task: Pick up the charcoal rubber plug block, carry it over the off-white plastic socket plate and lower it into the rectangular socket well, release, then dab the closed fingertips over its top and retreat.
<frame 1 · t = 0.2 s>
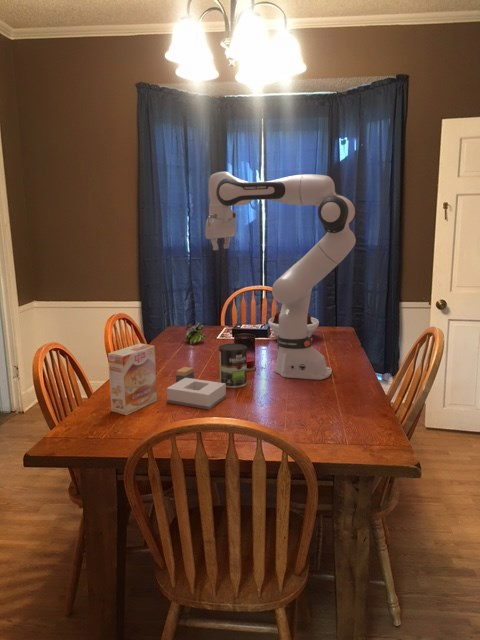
hand: (221, 249, 205), 48 cm above the table, fingers open, 8 cm apart
coffee can: (233, 384, 188), on the table
socket: (196, 399, 172), on the table
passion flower: (196, 342, 249), on the table
white round bowl: (293, 339, 253), on the table
coffeecake box: (135, 406, 168), on the table
plug: (185, 387, 184), on the table
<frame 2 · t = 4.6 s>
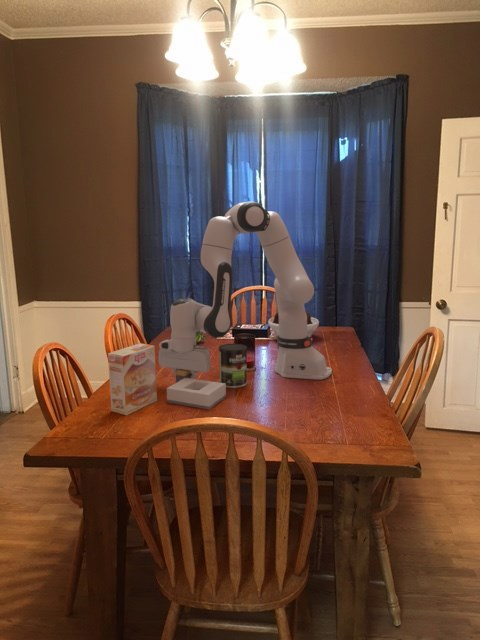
hand: (185, 380, 184), 3 cm above the table, fingers closed on plug, 4 cm apart
plug: (185, 387, 184), on the table, touching gripper
everything else where it was.
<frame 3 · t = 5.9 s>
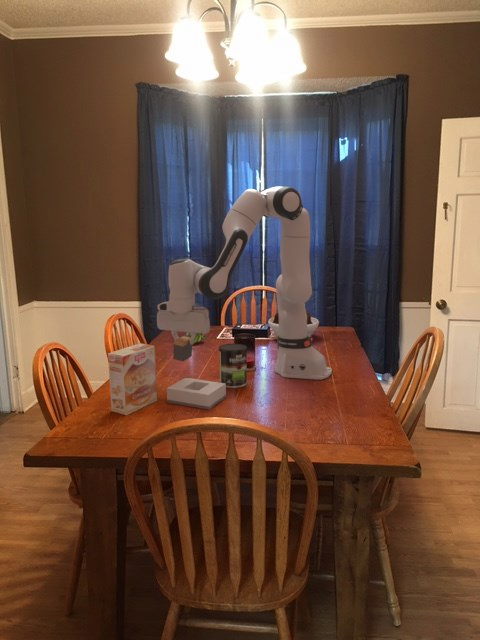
hand: (184, 343, 181), 17 cm above the table, fingers closed on plug, 4 cm apart
plug: (182, 357, 182), point 11 cm above the table, tilted 8°, touching gripper
everything else where it was.
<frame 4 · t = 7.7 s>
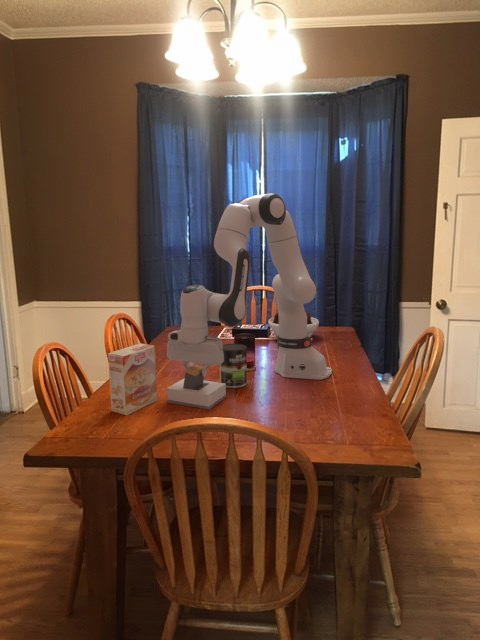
hand: (195, 374, 170), 9 cm above the table, fingers closed on plug, 4 cm apart
plug: (192, 387, 171), point 5 cm above the table, tilted 12°, touching gripper, socket
everything else where it was.
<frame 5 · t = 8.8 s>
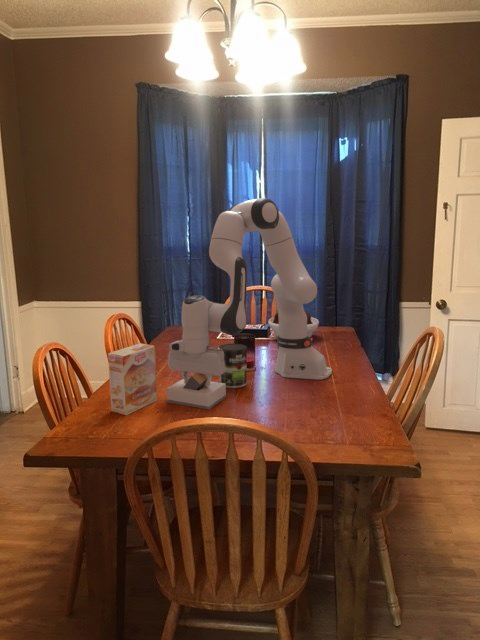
hand: (197, 384, 171), 5 cm above the table, fingers closed on plug, 6 cm apart
plug: (192, 389, 172), point 4 cm above the table, tilted 38°, touching gripper, socket
everything else where it was.
when the fingers open (5 cm above the table, at t = 9.6 s): plug drops 3 cm, resting on socket.
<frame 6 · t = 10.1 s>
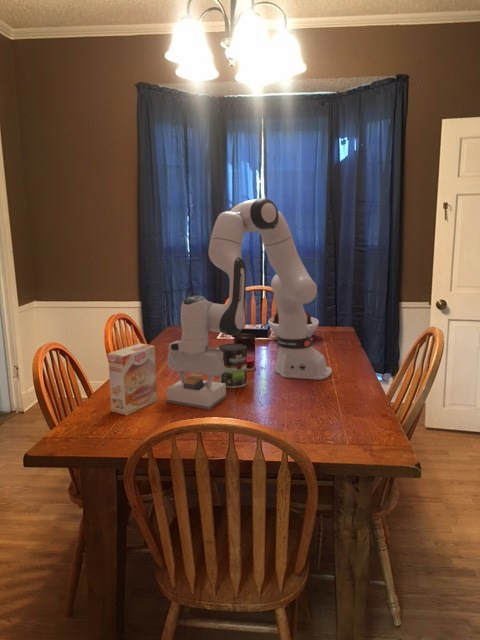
hand: (196, 384, 171), 5 cm above the table, fingers open, 8 cm apart
plug: (194, 396, 172), point 1 cm above the table, touching socket
everything else where it was.
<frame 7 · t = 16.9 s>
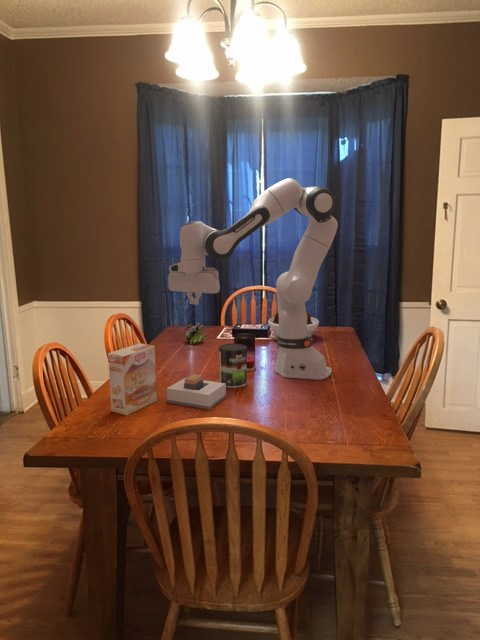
hand: (194, 304, 188), 29 cm above the table, fingers closed
nothing on the table moved.
at the end: plug 0.9 cm off-centre on the socket, point 1.1 cm above the socket's base; plug tilted 0°; the gripper is holding nothing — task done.
